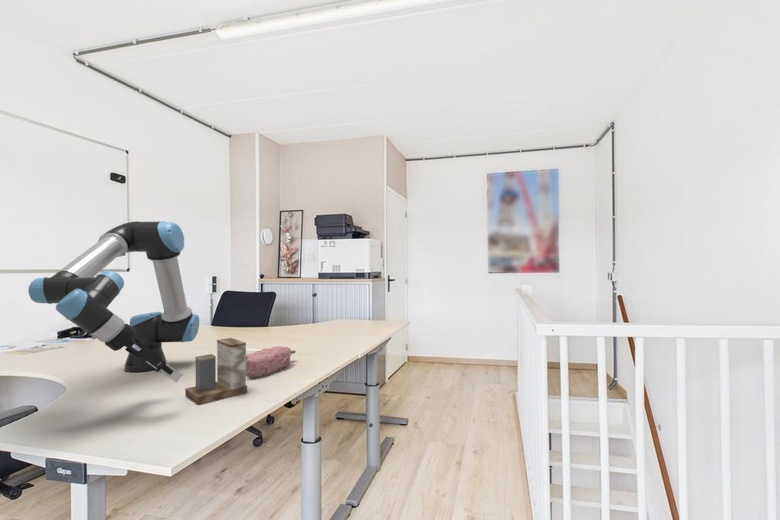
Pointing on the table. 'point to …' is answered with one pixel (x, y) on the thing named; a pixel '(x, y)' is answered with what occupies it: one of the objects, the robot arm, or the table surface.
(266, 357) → the ice cream bar
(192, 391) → the stand
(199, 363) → the case
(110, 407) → the table surface
